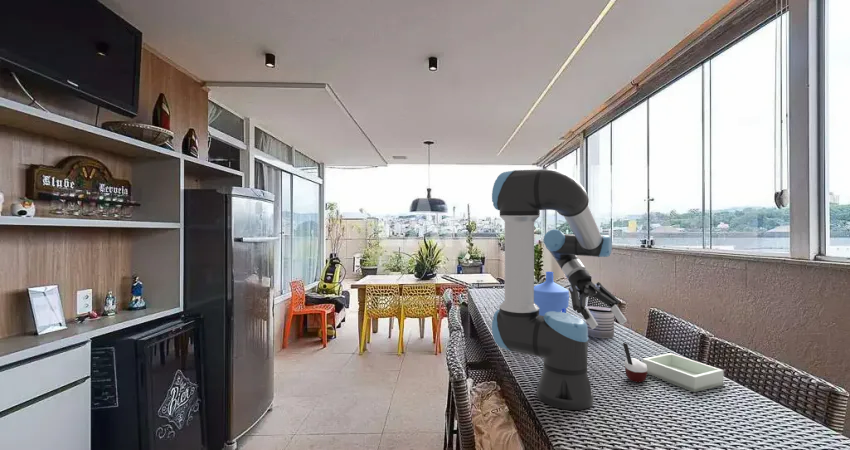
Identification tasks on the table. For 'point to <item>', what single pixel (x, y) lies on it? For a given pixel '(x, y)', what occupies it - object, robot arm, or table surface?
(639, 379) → the cocoa
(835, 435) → the table surface
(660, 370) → the bin
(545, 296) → the water jug
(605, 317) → the can
